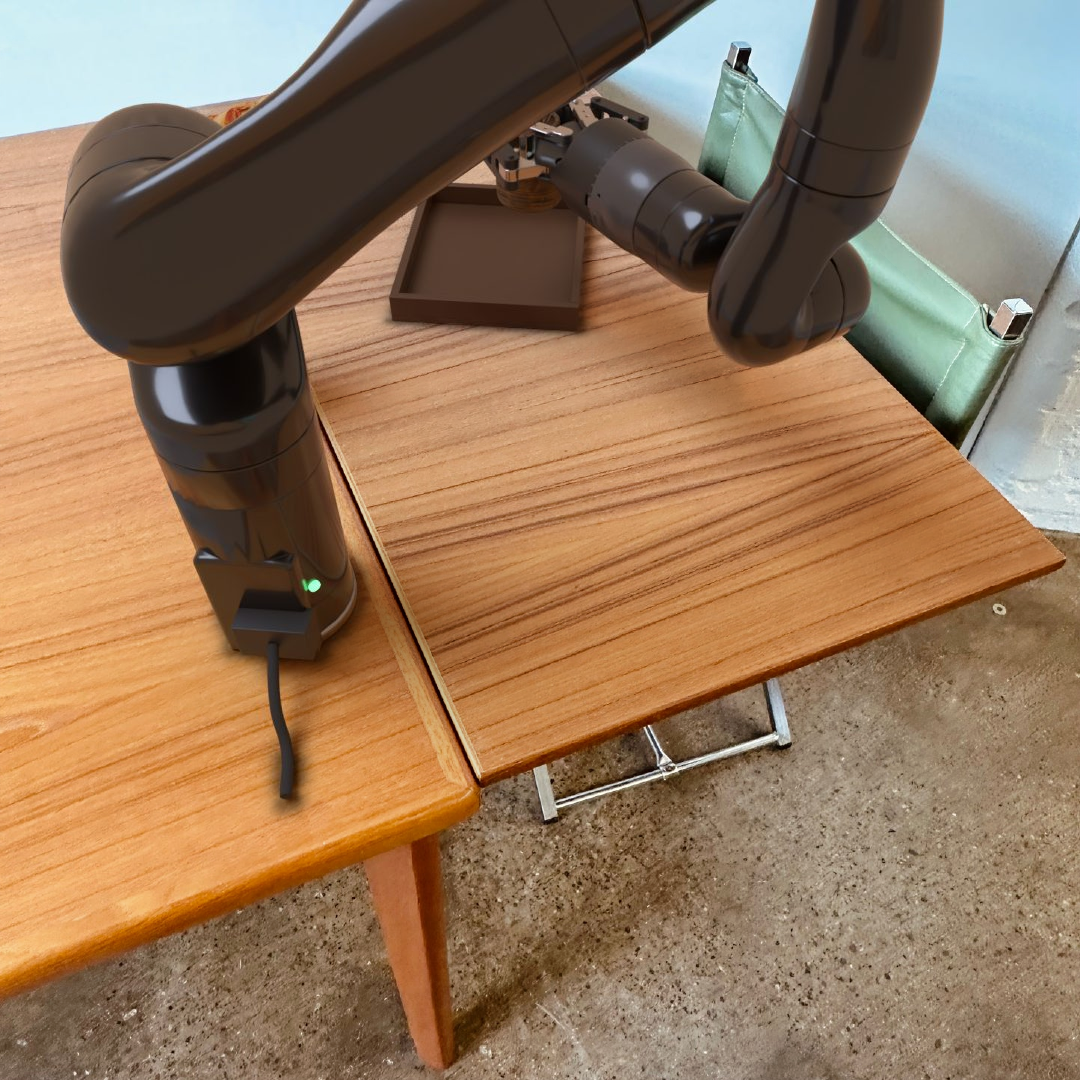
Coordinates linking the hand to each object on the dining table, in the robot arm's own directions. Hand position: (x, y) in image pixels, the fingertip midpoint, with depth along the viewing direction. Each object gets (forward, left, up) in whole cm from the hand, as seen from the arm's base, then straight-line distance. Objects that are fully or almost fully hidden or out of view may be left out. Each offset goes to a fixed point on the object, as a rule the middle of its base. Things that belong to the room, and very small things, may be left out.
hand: (512, 106), depth 77 cm
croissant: (+25, +30, -18) cm, 43 cm away
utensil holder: (-2, -2, -7) cm, 8 cm away
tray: (+4, +2, -18) cm, 18 cm away
